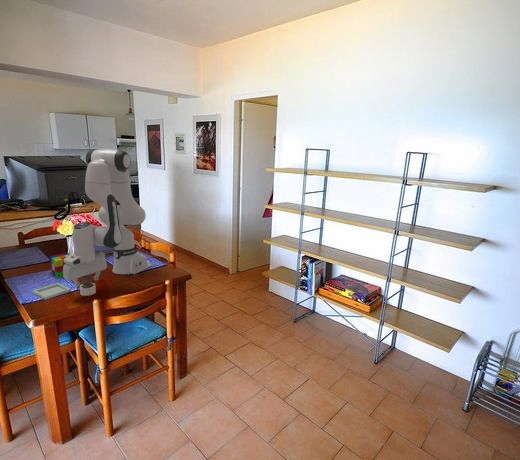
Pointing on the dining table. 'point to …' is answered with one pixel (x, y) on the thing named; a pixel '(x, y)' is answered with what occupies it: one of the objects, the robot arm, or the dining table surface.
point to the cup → (87, 290)
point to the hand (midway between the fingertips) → (87, 282)
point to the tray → (51, 291)
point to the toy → (58, 264)
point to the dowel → (87, 281)
